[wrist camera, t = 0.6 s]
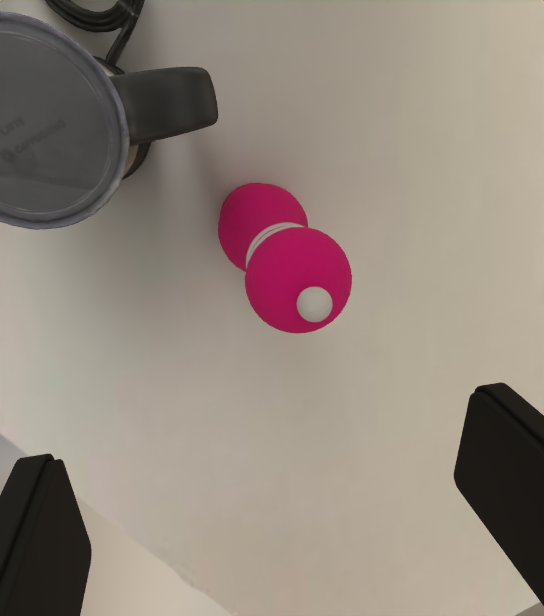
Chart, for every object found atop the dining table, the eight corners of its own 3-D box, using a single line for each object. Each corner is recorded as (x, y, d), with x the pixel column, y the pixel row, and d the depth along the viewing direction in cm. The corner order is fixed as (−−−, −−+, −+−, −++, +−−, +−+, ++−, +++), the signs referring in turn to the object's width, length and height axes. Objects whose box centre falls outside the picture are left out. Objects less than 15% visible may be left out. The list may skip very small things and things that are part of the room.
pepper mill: (215, 174, 36) (249, 235, 18) (297, 179, 37) (404, 240, 19) (213, 256, 39) (240, 378, 21) (289, 257, 40) (376, 372, 22)
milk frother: (77, 206, 35) (13, 264, 21) (-85, -4, 27) (-330, -112, 14) (226, 117, 34) (255, 120, 21) (100, -122, 27) (22, -348, 14)
